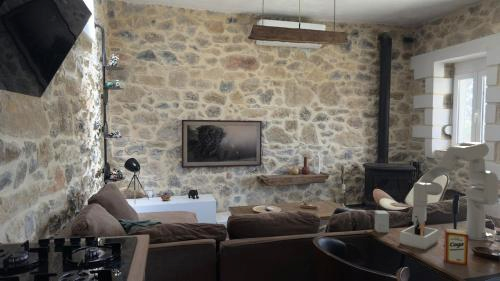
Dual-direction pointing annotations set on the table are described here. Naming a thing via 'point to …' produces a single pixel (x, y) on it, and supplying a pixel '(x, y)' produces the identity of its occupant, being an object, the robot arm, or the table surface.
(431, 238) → the tote
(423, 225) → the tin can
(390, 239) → the table surface
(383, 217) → the supplement box
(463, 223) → the table surface
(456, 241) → the baking soda box
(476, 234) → the robot arm
